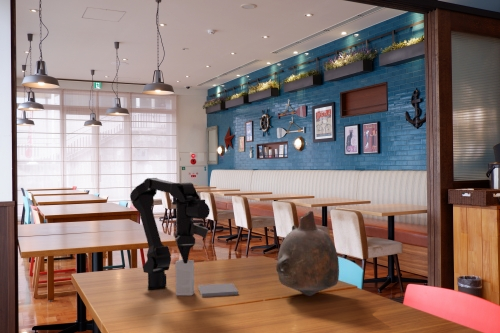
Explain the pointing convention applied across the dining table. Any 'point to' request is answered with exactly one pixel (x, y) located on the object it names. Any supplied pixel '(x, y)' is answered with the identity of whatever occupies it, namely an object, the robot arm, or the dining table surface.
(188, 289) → the skincare box
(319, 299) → the dining table surface
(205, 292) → the slate tile
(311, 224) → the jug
